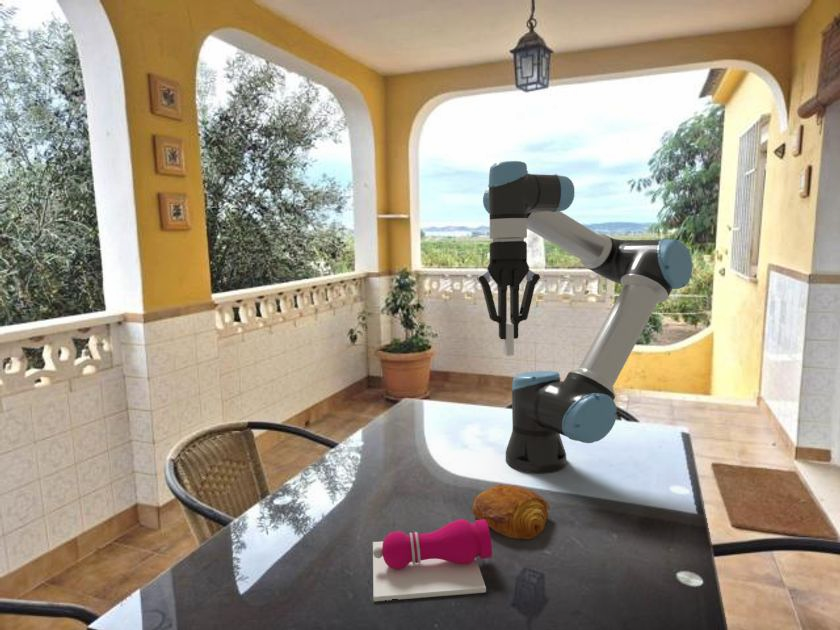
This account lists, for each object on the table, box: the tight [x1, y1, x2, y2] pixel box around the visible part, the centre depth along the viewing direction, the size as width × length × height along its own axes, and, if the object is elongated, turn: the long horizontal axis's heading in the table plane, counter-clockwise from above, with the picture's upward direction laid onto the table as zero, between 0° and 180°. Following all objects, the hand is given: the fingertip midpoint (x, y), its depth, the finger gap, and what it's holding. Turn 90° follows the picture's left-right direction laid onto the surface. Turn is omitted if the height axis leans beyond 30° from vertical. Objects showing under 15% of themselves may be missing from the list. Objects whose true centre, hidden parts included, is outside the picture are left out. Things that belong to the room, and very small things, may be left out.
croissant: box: [472, 483, 551, 540], centre depth 109 cm, size 14×16×8 cm
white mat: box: [372, 540, 487, 602], centre depth 94 cm, size 18×16×1 cm
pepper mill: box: [372, 518, 493, 569], centre depth 94 cm, size 7×7×20 cm
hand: (508, 354), depth 114 cm, fingers closed
